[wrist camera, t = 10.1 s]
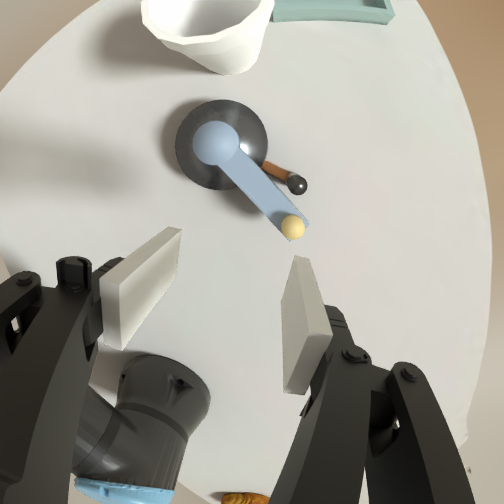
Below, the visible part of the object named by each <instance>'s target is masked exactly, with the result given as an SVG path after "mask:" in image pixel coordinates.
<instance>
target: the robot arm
mask: <svg viewBox="0 0 504 504" xmlns="http://www.w3.org/2000/svg"><path fill="white" fill-rule="evenodd" d="M181 233H182V230H181V229H177V228H172V227H167V228H166V229H164V230H163V231H162V232H160V233H159V234H157V235H156V236H155V237H153V238H152V239H150V240H149V241H148V242H146V243H145V244H144V245H142V246H141V247H140V248H138V249H137V250H136V251H134V252H133V253H132V254H130V255H129V256H128V257H126V258H122V257H118V258H115V259H111V260H109V261H108V262H106V263H105V264H104V265H103V266H101V267H99V268H98V270H95V271H94V272H93V273H92V263H91V262H90V260H88V259H86V258H83V257H79V256H70V257H64V258H61V259H59V260H58V261H57V262H56V269H57V280H58V285H57V286H56V288H50V287H44V286H41V278H40V276H39V275H38V274H37V273H35V272H30V271H27V272H26V271H23V272H20V273H17V274H15V275H13V276H12V277H10V278H9V279H7V280H6V281H4V282H3V283H2V284H0V504H68V491H69V481H70V473H73V474H74V475H75V476H76V477H77V478H75V480H74V481H75V487H76V488H77V489H78V490H79V491H81V492H82V493H84V494H85V495H87V496H89V497H90V498H92V499H94V500H97V501H99V502H101V503H104V504H170V501H171V499H172V496H173V495H174V494H175V492H174V489H175V485H176V481H177V478H178V474H179V471H180V467H181V463H182V460H183V456H184V453H185V449H186V445H187V442H188V438H189V437H190V435H191V434H192V433H193V432H194V430H195V429H196V428H197V427H198V425H199V424H200V423H201V421H202V420H203V419H204V418H205V416H206V415H207V412H208V409H209V405H210V399H211V398H210V393H209V390H208V388H207V386H206V384H205V383H204V382H203V381H202V379H201V378H200V377H199V376H198V375H197V374H195V373H194V372H193V371H192V370H190V369H189V368H187V367H185V366H184V365H182V364H180V363H178V362H176V361H173V360H170V359H168V358H164V357H160V356H152V355H145V356H139V357H136V358H134V359H132V360H130V361H129V362H128V363H127V365H126V366H125V368H124V370H123V371H122V373H121V376H120V380H119V387H118V394H117V402H116V406H115V408H114V407H113V406H112V405H111V404H109V403H108V402H107V401H106V400H105V399H104V398H103V397H101V396H100V395H99V394H98V393H97V392H96V391H95V390H94V389H92V388H91V387H90V386H89V385H88V382H89V378H90V374H91V371H92V367H93V364H94V360H95V357H96V354H97V350H98V342H97V339H98V337H99V336H100V335H101V334H102V333H103V339H104V345H107V346H110V347H112V348H115V349H117V350H120V351H122V350H123V349H124V347H125V346H126V345H127V343H128V342H129V340H130V339H131V338H132V336H133V335H134V333H135V332H136V331H137V329H138V328H139V326H140V325H141V324H142V322H143V321H144V320H145V318H146V317H147V315H148V314H149V313H150V311H151V310H152V309H153V307H154V306H155V305H156V303H157V302H158V301H159V299H160V298H161V297H162V295H163V294H164V293H165V291H166V290H167V289H168V287H169V286H170V285H171V283H172V282H173V281H174V279H175V278H176V272H177V264H178V256H179V248H180V240H181ZM281 315H282V344H283V384H284V393H291V394H298V395H305V393H306V391H307V389H308V387H309V386H310V388H311V396H310V397H309V399H308V401H307V403H306V405H305V406H304V408H303V410H302V412H301V414H300V415H299V416H302V418H301V421H300V424H299V427H298V429H297V432H296V435H295V438H294V441H293V443H292V446H291V449H290V451H289V454H288V456H287V459H286V462H285V464H284V467H283V469H282V472H281V474H280V476H279V479H278V481H277V484H276V486H275V488H274V490H273V493H272V495H271V497H270V499H269V502H268V504H359V498H360V493H361V487H362V481H363V474H364V467H365V471H366V479H367V487H368V496H369V504H475V501H474V497H473V494H472V491H471V487H470V484H469V481H468V478H467V475H466V472H465V469H464V466H463V463H462V460H461V458H460V455H459V452H458V450H457V447H456V444H455V442H454V439H453V437H452V434H451V432H450V430H449V427H448V425H447V422H446V420H445V418H444V415H443V413H442V411H441V409H440V406H439V404H438V402H437V400H436V398H435V396H434V393H433V391H432V389H431V387H430V385H429V383H428V381H427V379H426V377H425V375H424V374H423V372H422V371H421V370H420V369H419V368H418V367H417V366H415V365H413V364H412V363H408V362H397V363H395V364H394V366H393V368H392V369H391V371H389V370H386V369H383V368H380V367H377V366H374V365H372V361H371V358H370V356H369V354H368V353H367V352H366V351H365V350H363V349H362V348H361V347H358V346H356V345H355V344H354V341H353V339H352V336H351V333H350V331H349V329H348V326H347V323H346V320H345V318H344V315H343V314H342V313H341V312H340V311H339V310H338V308H337V307H334V306H329V305H324V303H323V300H322V297H321V294H320V291H319V288H318V284H317V281H316V278H315V275H314V272H313V269H312V266H311V263H310V260H309V259H308V258H303V257H299V256H294V260H293V263H292V267H291V270H290V273H289V277H288V280H287V284H286V287H285V290H284V294H283V297H282V300H281ZM15 317H16V319H17V323H18V326H19V328H18V329H17V330H15V331H14V330H13V327H12V323H11V321H12V320H13V319H14V318H15ZM397 420H398V421H399V425H400V427H399V428H398V427H397V424H396V421H397Z"/></svg>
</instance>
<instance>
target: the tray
mask: <svg viewBox="0 0 504 504" xmlns="http://www.w3.org/2000/svg"><path fill="white" fill-rule="evenodd" d="M394 16H395V14H394V11H393V8H392V5H391V3H390V0H274V7H273V10H272V18H273V22H286V21H311V20H327V21H352V22H365V23H374V24H383V25H387V24H388V23H389V22H390V20H391V19H392V18H393V17H394Z"/></svg>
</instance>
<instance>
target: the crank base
mask: <svg viewBox="0 0 504 504" xmlns="http://www.w3.org/2000/svg"><path fill="white" fill-rule="evenodd" d="M210 121H221V122H224V123H227V124H228V125H230V126H231V127H232V128H234V129H235V130H236V132H237V133H238V135H239V137H240V148H241V149H242V150H243V151H244V152H245V153H246V154H247V155H248V156H249V157H250V158H251V159H252V160H253V161H254V162H255V163H256V164H257V165H258V166H259V167H260V168H261V169H263V170H265V171H266V172H268V173H270V174H272V175H274V176H276V177H278V178H280V179H282V180H284V181H285V183H286V185H287V186H288V188H289V190H290V192H291V193H293V194H295V195H301V194H303V193H305V191H306V190H307V182H306V180H305V179H304V178H303V177H301V176H299V175H298V174H296V173H294V172H291V173H289V172H287V171H285V170H283V169H281V168H279V167H277V166H275V165H274V164H272V163H270V162H268V161H266V160H265V159H266V156H267V151H268V139H267V135H266V131H265V128H264V125H263V124H262V122H261V120H260V119H259V117H258V116H257V115H256V114H255V113H254V112H253V111H252V110H251V109H250V108H248V107H247V106H245V105H243V104H241V103H239V102H235V101H231V100H214V101H210V102H207V103H204V104H202V105H200V106H198V107H197V108H195V109H194V110H193V111H191V112H190V113H189V114H188V115H187V117H186V118H185V119H184V120H183V122H182V124H181V125H180V128H179V130H178V133H177V137H176V145H175V148H176V156H177V159H178V162H179V165H180V167H181V168H182V170H183V171H184V173H185V174H186V175H187V176H188V177H189V178H190V179H191V180H192V181H193V182H195V183H197V184H198V185H200V186H202V187H205V188H208V189H214V190H227V189H232V188H235V187H238V186H237V185H236V184H235V183H234V182H233V181H232V179H231V178H230V177H229V176H228V175H227V174H226V173H225V172H224V171H223V170H222V169H221V168H220V167H219V166H218V165H209V164H206V163H204V162H202V161H201V160H200V159H198V157H197V156H196V155H195V153H194V150H193V138H194V135H195V133H196V131H197V130H198V129H199V128H200V127H201V126H202V125H203V124H205V123H207V122H210Z"/></svg>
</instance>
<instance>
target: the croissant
mask: <svg viewBox="0 0 504 504" xmlns="http://www.w3.org/2000/svg"><path fill="white" fill-rule="evenodd" d="M269 499H270V498H268V497H266V496H263V495H258V494H253V493H244V494H242V493H236V494H226V495H224V496H223V498H222V501H221V504H268V502H269Z"/></svg>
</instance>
